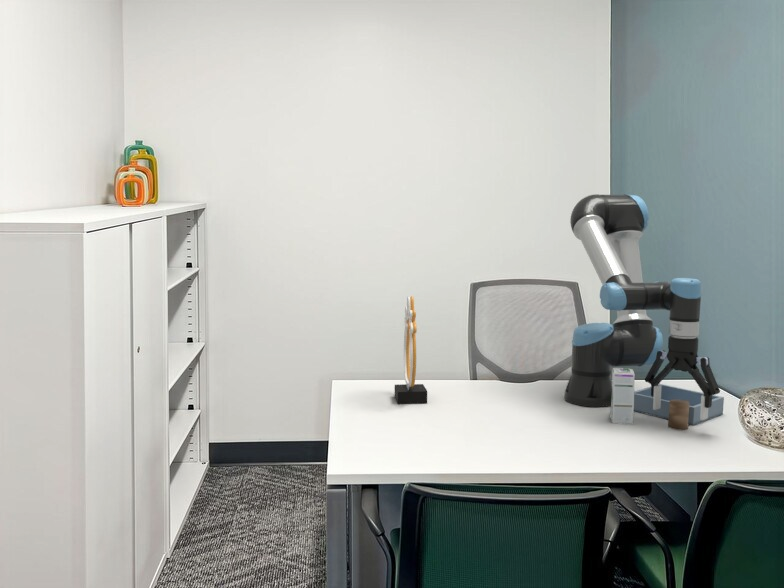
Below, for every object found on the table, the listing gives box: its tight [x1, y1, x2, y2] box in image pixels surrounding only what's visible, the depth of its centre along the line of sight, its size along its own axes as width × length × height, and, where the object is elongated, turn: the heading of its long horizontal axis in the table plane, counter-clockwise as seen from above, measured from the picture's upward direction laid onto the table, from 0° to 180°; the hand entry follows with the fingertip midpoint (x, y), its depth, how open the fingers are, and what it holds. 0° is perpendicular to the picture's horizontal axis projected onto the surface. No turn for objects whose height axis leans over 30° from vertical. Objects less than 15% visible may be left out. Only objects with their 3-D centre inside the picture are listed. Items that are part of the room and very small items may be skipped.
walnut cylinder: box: [667, 399, 689, 431], centre depth 209 cm, size 5×5×7 cm
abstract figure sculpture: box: [394, 296, 428, 405], centre depth 232 cm, size 17×9×32 cm, turn 6°
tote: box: [634, 383, 725, 426], centre depth 223 cm, size 20×17×5 cm
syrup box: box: [610, 367, 636, 425], centre depth 214 cm, size 6×6×14 cm
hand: (679, 414), depth 208 cm, fingers open, 13 cm apart
